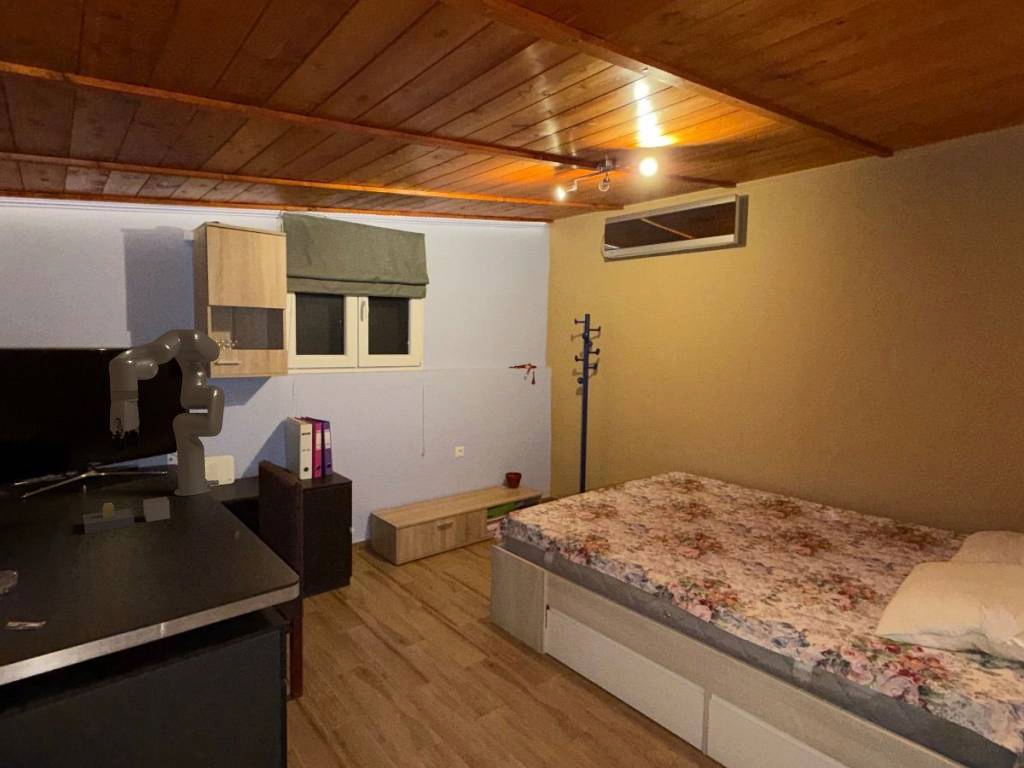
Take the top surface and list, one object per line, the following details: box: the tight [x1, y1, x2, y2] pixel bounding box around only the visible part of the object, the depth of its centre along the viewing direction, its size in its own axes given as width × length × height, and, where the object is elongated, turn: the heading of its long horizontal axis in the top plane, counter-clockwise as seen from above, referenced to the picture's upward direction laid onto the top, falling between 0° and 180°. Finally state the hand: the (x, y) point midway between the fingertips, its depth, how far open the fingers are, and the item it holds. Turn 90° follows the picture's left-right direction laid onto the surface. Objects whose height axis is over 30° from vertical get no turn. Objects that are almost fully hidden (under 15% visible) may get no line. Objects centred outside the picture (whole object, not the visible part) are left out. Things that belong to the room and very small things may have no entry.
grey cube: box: [143, 496, 171, 523], centre depth 204 cm, size 7×7×6 cm
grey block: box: [82, 502, 135, 534], centre depth 196 cm, size 13×13×7 cm
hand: (126, 448), depth 199 cm, fingers open, 9 cm apart
